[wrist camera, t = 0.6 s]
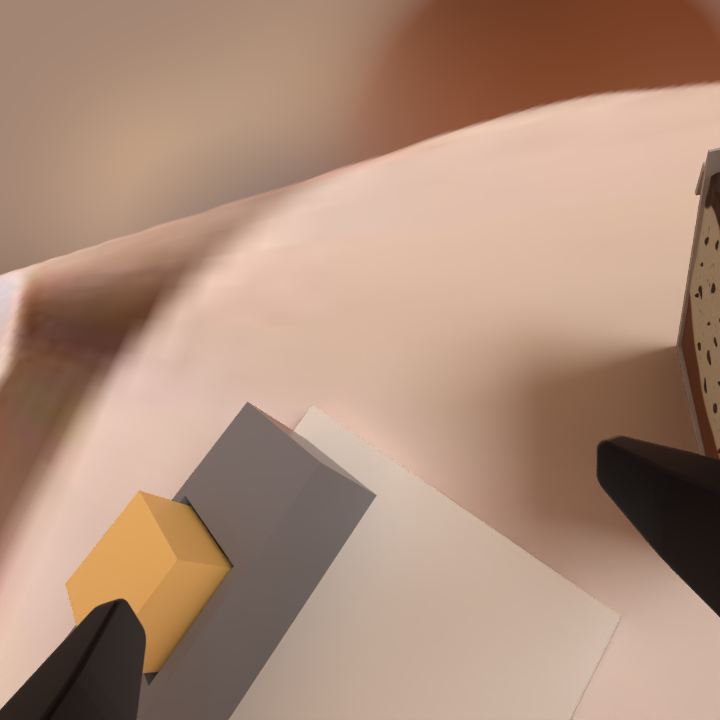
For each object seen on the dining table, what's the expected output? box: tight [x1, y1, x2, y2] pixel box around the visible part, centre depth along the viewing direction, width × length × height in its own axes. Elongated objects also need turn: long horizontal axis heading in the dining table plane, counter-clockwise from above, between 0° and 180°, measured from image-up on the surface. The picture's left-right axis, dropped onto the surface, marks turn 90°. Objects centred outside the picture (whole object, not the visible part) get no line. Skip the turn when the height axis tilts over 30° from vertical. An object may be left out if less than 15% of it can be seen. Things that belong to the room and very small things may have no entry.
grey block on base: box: [66, 402, 621, 720], centre depth 17 cm, size 18×20×7 cm
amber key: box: [66, 491, 233, 673], centre depth 17 cm, size 5×5×3 cm
